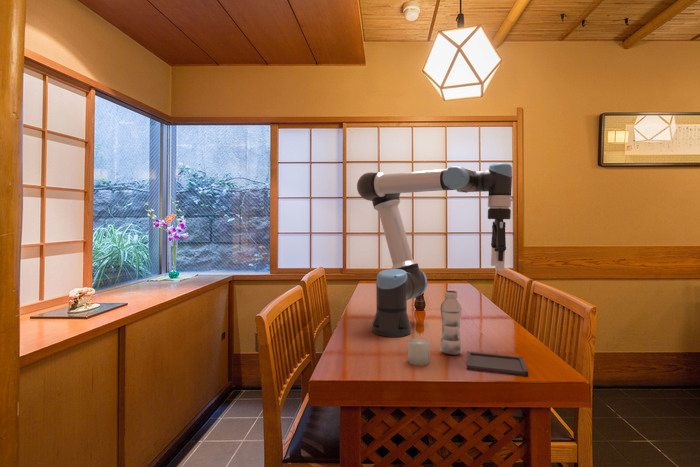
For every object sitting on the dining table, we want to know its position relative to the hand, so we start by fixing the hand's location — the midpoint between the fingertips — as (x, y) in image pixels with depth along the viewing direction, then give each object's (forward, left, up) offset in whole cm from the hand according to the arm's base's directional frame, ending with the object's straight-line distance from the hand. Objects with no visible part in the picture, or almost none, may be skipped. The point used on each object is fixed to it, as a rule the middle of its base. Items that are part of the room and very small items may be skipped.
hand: (497, 268), depth 132 cm
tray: (-2, -25, -26) cm, 36 cm away
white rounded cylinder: (-24, -29, -26) cm, 45 cm away
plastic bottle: (-15, -19, -26) cm, 35 cm away
